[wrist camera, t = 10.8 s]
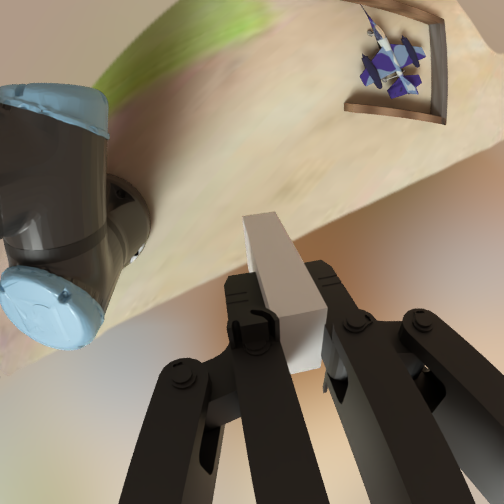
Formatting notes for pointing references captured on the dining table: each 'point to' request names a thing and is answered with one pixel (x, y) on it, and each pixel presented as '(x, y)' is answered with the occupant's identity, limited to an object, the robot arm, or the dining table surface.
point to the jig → (438, 64)
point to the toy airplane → (392, 64)
